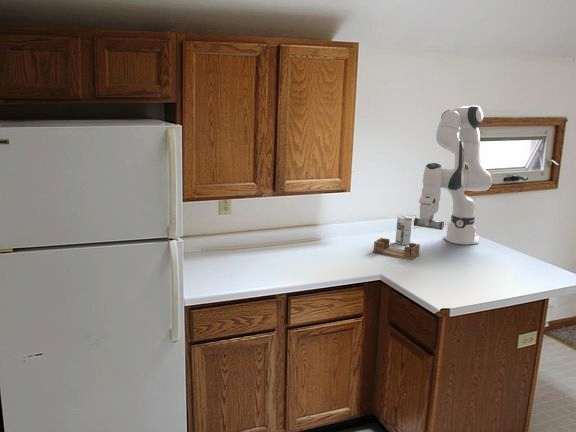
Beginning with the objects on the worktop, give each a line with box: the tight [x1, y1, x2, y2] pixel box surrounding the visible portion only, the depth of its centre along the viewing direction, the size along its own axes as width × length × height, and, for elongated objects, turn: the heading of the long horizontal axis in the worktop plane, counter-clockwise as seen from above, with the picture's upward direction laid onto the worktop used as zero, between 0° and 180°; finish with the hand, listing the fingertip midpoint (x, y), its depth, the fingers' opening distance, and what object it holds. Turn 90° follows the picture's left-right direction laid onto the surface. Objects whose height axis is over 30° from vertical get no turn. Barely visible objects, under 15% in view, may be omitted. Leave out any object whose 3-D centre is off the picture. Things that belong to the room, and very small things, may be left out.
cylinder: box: [413, 217, 445, 231], centre depth 286 cm, size 4×14×4 cm, turn 60°
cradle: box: [372, 237, 421, 261], centre depth 288 cm, size 10×20×6 cm, turn 60°
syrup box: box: [395, 215, 413, 246], centre depth 305 cm, size 6×6×14 cm
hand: (428, 224), depth 286 cm, fingers closed on cylinder, 4 cm apart
